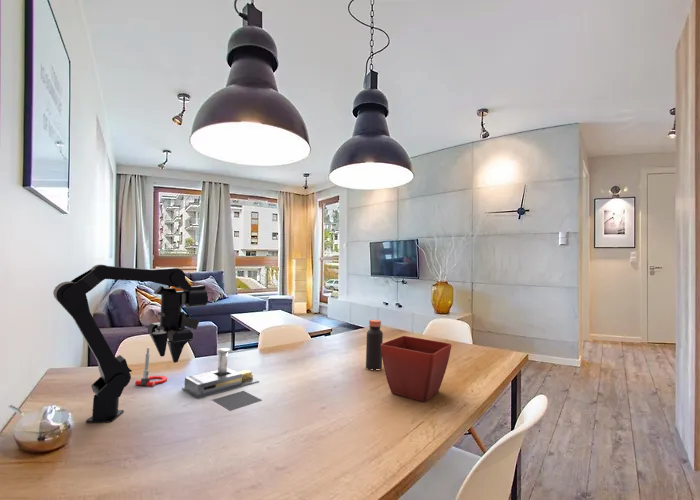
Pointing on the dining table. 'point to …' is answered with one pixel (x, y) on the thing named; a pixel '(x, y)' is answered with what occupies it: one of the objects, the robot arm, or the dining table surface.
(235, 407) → the rubber mat
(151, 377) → the tow hook
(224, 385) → the windowed slide housing
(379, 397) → the dining table surface
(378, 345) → the bottle
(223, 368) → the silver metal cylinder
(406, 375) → the plant pot
